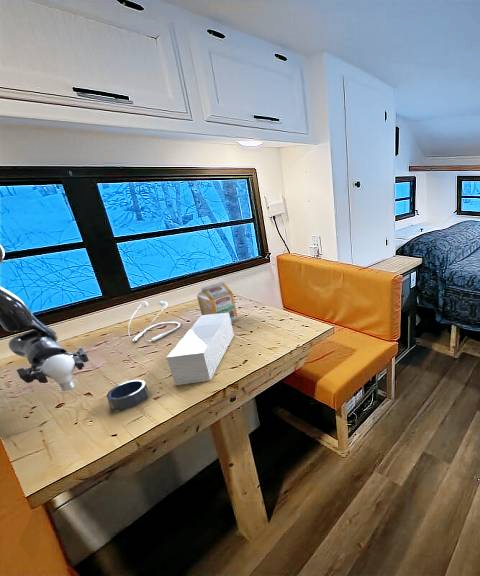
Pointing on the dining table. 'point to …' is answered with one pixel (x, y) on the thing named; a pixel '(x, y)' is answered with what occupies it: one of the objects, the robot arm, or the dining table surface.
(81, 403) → the dining table surface
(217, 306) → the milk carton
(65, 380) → the lightbulb
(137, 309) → the earphone
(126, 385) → the socket
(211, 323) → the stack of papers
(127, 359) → the dining table surface
